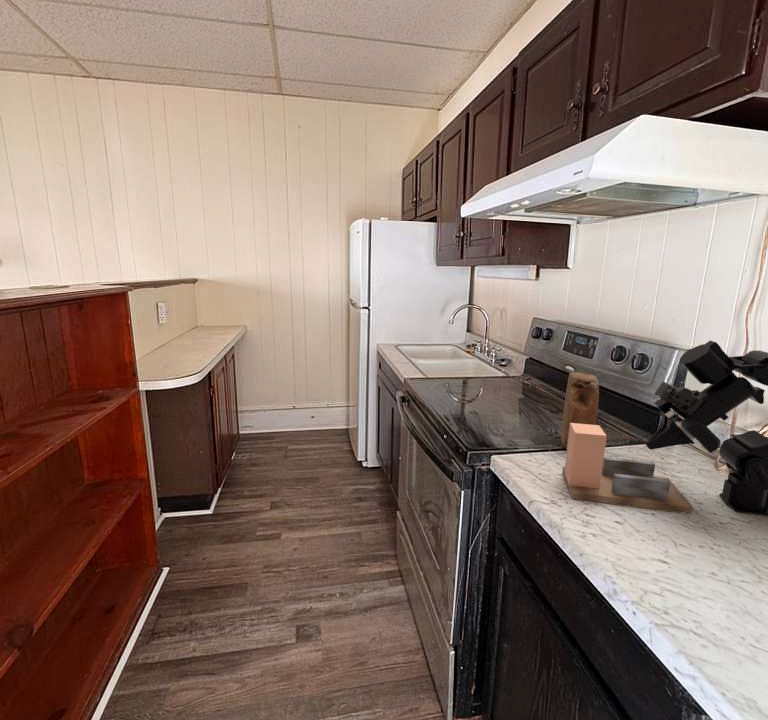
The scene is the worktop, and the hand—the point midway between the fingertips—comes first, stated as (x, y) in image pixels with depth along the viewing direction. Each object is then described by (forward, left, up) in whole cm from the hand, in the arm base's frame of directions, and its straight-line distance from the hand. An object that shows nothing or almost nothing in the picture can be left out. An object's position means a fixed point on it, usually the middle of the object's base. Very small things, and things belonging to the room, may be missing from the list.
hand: (647, 447), depth 88 cm
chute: (+4, 0, -11) cm, 11 cm away
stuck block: (+12, 0, -9) cm, 15 cm away
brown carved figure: (+9, -22, -11) cm, 26 cm away
